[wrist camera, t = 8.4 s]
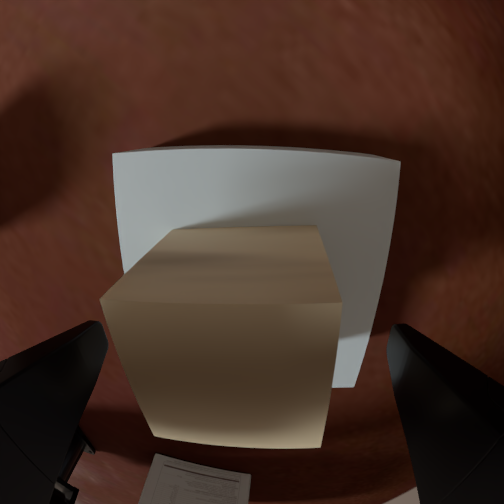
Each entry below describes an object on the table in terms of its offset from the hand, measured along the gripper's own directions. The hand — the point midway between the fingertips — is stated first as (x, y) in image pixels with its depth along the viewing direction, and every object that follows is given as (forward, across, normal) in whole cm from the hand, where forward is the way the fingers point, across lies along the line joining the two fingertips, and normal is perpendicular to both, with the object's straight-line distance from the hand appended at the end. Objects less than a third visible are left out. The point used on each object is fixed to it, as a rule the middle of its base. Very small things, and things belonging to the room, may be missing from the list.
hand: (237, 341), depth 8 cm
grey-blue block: (+7, 0, 0) cm, 7 cm away
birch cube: (+3, 0, 0) cm, 3 cm away
